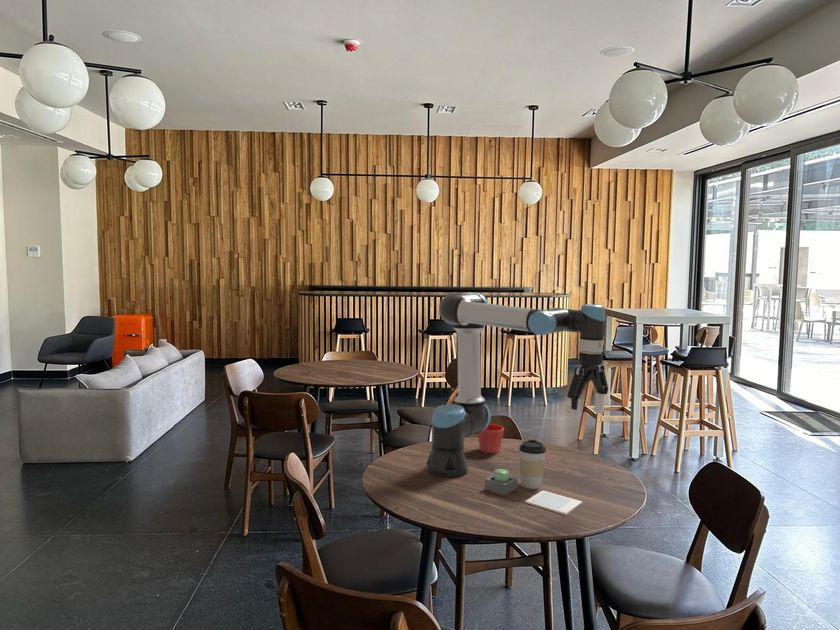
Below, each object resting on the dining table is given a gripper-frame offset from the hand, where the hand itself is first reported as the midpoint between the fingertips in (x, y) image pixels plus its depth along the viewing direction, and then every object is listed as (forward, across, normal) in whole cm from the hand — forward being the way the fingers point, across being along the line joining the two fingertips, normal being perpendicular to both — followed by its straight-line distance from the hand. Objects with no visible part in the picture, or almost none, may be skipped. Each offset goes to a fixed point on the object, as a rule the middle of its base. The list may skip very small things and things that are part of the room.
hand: (587, 415), depth 197 cm
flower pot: (+27, +9, +50) cm, 58 cm away
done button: (+25, -19, +20) cm, 37 cm away
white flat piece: (+27, -14, +1) cm, 30 cm away
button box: (+27, -18, +20) cm, 38 cm away
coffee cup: (+27, -8, +16) cm, 32 cm away
